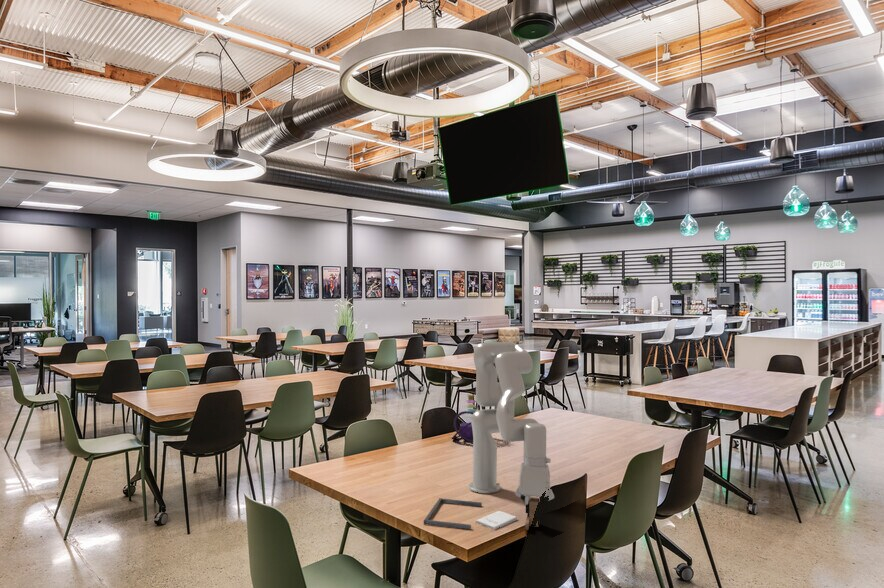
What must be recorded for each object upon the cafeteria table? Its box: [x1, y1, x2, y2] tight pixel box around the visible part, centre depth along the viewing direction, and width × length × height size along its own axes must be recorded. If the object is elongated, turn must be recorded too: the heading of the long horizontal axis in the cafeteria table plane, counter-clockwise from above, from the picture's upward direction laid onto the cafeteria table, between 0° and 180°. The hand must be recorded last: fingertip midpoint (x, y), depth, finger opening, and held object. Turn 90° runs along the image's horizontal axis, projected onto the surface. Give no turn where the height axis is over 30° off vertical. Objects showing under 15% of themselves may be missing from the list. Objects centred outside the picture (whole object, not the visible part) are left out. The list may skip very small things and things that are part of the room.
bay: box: [423, 498, 483, 530], centre depth 190 cm, size 22×16×1 cm
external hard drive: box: [475, 510, 518, 531], centre depth 185 cm, size 2×8×12 cm
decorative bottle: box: [451, 393, 477, 444], centre depth 296 cm, size 22×21×25 cm
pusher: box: [524, 497, 540, 531], centre depth 182 cm, size 11×4×8 cm, turn 166°
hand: (534, 515), depth 182 cm, fingers closed on pusher, 3 cm apart
